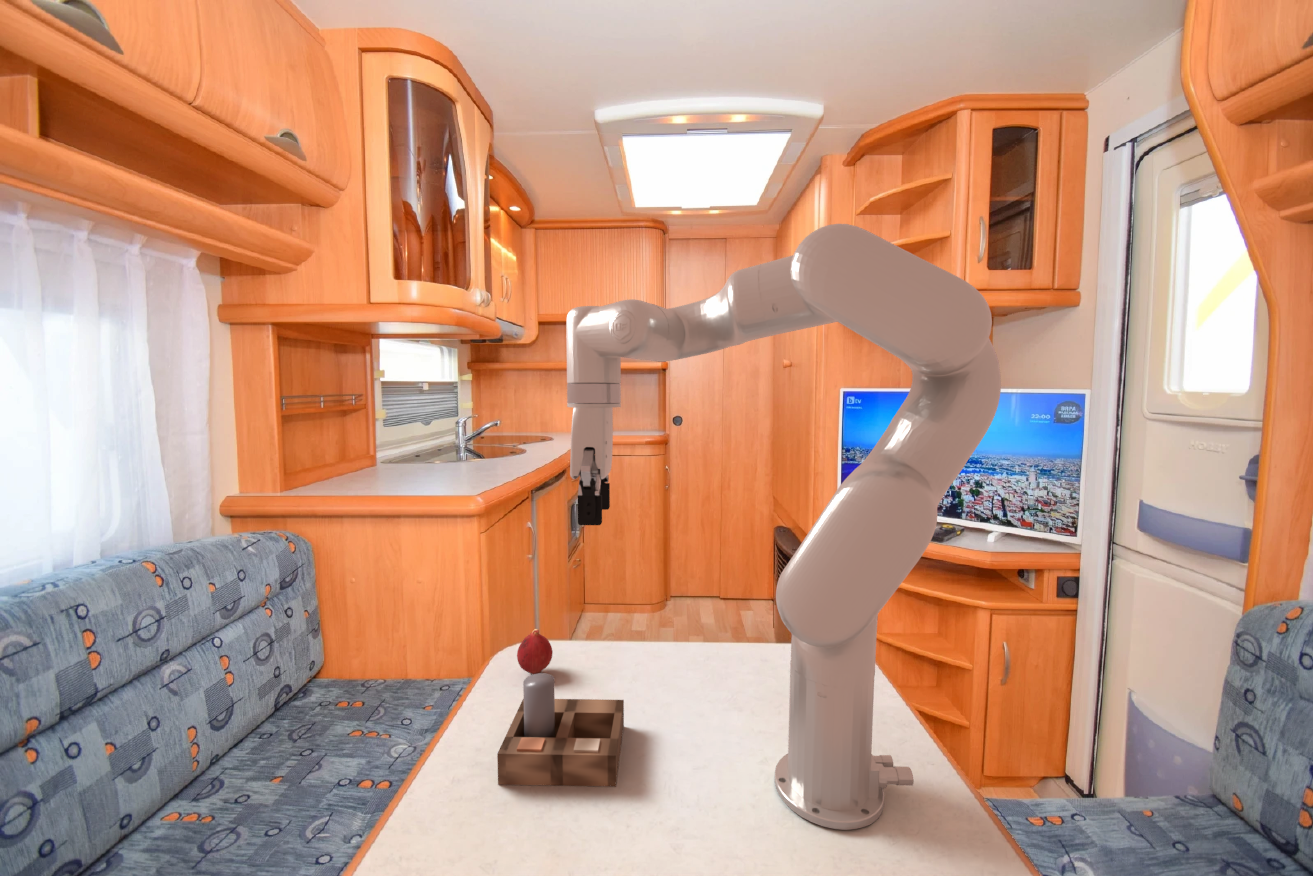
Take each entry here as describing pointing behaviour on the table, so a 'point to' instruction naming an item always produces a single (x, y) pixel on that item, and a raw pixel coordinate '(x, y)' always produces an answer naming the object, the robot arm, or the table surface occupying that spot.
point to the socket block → (566, 746)
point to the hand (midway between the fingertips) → (594, 516)
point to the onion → (534, 653)
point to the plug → (539, 706)
